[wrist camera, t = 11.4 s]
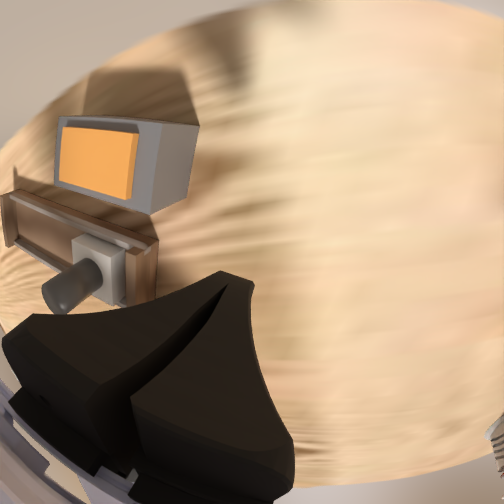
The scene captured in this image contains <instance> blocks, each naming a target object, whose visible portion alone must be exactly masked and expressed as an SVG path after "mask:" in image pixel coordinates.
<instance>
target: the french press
mask: <svg viewBox="0 0 504 504" xmlns="http://www.w3.org/2000/svg"><path fill="white" fill-rule="evenodd" d="M484 438H485V439H487V440H491V442H492V443H491V444H492V447H493V452H494V453H495V454H494V456H495V458H496V465H497V470H498V472H502V471H504V415H503V416H502V417H500V418H499V419H498V420H497V421H496V422H495V423H494V424H492V425H491V426H490V428H489V429H488V430H487V431H486V432H485V435H484ZM501 478H504V473H503V474H502V475H501ZM501 499H504V495H503V496H502V498H501Z"/></svg>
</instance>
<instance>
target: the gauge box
mask: <svg viewBox="0 0 504 504" xmlns="http://www.w3.org/2000/svg"><path fill="white" fill-rule="evenodd" d="M63 127H83V128H95V129H106V130H115V131H123V132H131V133H139V138H138V145H137V152H136V159H135V167H134V175H133V185H132V196H131V198H130V199H127V200H124V199H120V198H117V197H114V196H110V195H107V194H103V193H100V192H97V191H93V190H90V189H87V188H83V187H80V186H76V185H73V184H69V183H66V182H63V181H59V168H60V151H61V140H62V130H63ZM199 127H200V126H195V125H189V124H183V123H176V122H169V121H161V120H153V119H144V118H133V117H121V116H107V115H81V116H59V121H58V129H57V139H56V151H55V169H54V185H55V186H58V187H61V188H65V189H68V190H71V191H74V192H78V193H81V194H84V195H87V196H91V197H94V198H97V199H100V200H103V201H107V202H110V203H113V204H116V205H120V206H123V207H126V208H129V209H132V210H136V211H139V212H142V213H145V214H148V215H151V214H153V213H155V212H157V211H159V210H161V209H163V208H165V207H167V206H170V205H172V204H174V203H176V202H178V201H180V200H182V199H185V198H186V197H187V191H188V185H189V179H190V173H191V167H192V162H193V157H194V151H195V146H196V141H197V136H198V132H199Z"/></svg>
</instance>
